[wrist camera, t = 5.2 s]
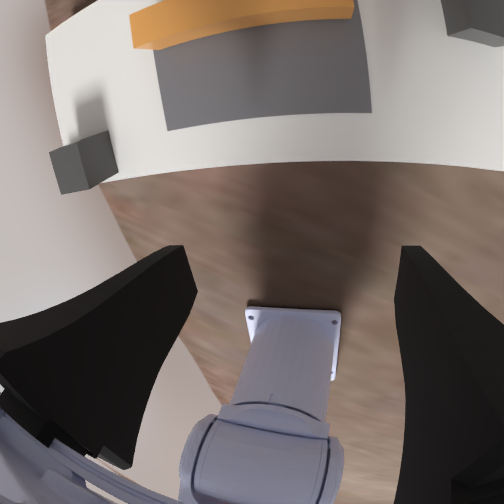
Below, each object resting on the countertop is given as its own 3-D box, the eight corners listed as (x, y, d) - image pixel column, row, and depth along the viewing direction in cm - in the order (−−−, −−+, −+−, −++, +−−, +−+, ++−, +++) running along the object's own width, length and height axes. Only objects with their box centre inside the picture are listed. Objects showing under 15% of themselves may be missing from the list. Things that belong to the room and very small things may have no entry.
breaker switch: (351, 18, 10) (354, 6, 8) (159, 50, 13) (133, 48, 11) (344, -16, 9) (345, -33, 7) (154, 20, 12) (129, 14, 10)
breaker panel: (498, 159, 13) (521, 174, 11) (99, 174, 22) (74, 188, 19) (480, -23, 7) (500, -35, 4) (72, 34, 15) (44, 35, 13)
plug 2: (447, 35, 9) (470, 28, 6) (437, -14, 7) (456, -31, 5) (513, 53, 8) (543, 52, 5) (504, 5, 6) (531, -3, 4)
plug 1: (108, 130, 16) (76, 141, 14) (118, 172, 18) (89, 189, 15) (68, 143, 18) (38, 156, 15) (78, 180, 19) (50, 196, 17)
